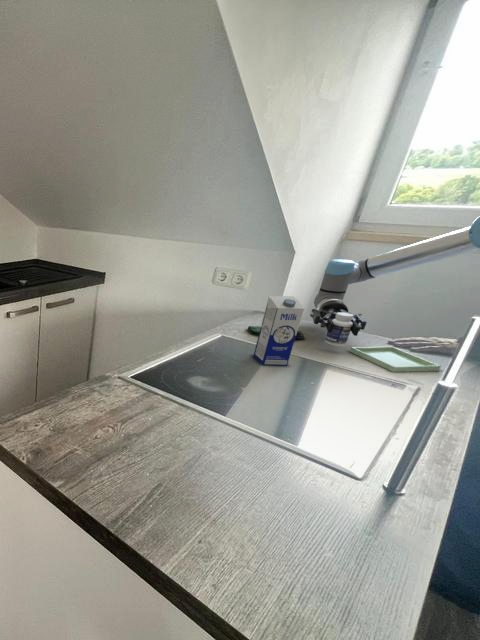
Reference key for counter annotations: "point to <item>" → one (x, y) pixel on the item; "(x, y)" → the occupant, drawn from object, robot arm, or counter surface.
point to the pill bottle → (340, 329)
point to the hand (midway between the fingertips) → (343, 329)
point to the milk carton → (278, 330)
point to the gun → (256, 330)
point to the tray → (394, 359)
